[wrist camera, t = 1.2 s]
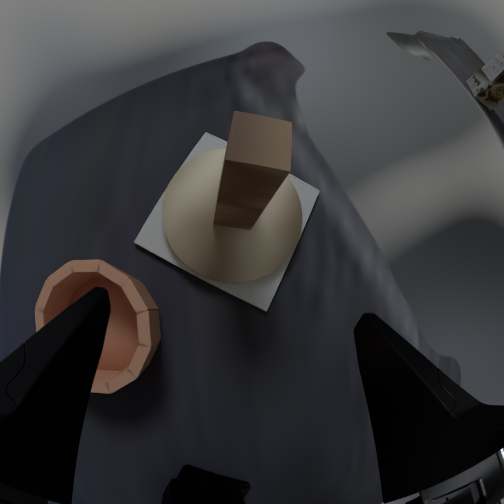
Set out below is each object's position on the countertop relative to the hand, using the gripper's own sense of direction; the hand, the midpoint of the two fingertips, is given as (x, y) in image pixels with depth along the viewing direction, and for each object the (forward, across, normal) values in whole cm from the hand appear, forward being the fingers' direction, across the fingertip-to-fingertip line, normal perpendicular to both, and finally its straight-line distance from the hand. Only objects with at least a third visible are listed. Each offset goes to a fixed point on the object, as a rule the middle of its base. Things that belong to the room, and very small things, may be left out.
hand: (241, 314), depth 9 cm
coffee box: (+48, -60, -30) cm, 82 cm away
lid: (+14, 0, +3) cm, 15 cm away
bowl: (+8, +9, +11) cm, 16 cm away
